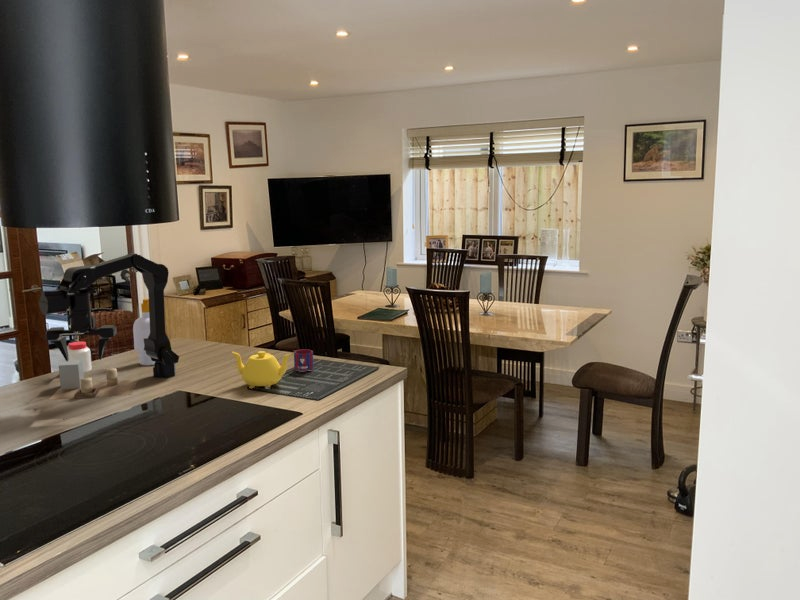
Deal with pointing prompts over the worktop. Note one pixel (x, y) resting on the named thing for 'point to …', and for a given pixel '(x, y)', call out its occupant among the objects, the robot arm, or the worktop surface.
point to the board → (98, 390)
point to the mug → (303, 360)
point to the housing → (71, 374)
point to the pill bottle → (80, 354)
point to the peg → (111, 377)
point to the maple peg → (86, 385)
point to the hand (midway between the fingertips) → (84, 360)
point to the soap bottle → (142, 334)
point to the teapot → (261, 369)
